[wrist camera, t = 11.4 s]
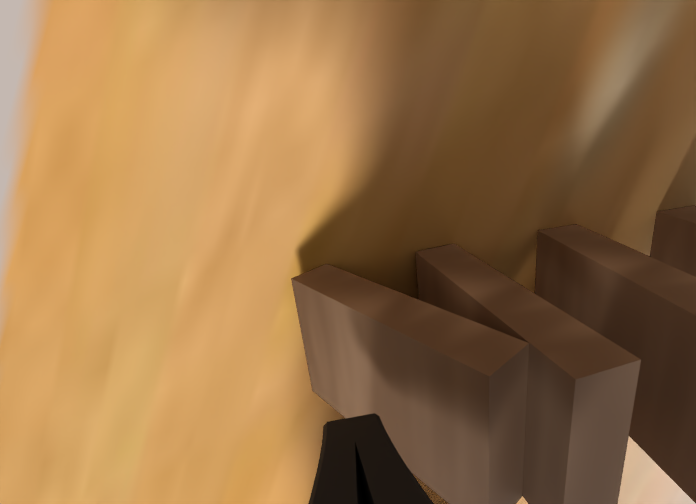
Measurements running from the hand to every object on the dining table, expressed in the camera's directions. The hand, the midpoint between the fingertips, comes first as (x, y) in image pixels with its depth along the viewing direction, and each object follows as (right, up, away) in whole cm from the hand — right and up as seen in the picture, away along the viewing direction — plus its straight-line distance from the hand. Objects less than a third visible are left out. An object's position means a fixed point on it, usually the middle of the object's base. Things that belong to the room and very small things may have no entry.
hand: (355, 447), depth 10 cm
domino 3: (+8, +4, +7) cm, 11 cm away
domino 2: (+3, +3, +6) cm, 8 cm away
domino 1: (-1, +2, +6) cm, 6 cm away
